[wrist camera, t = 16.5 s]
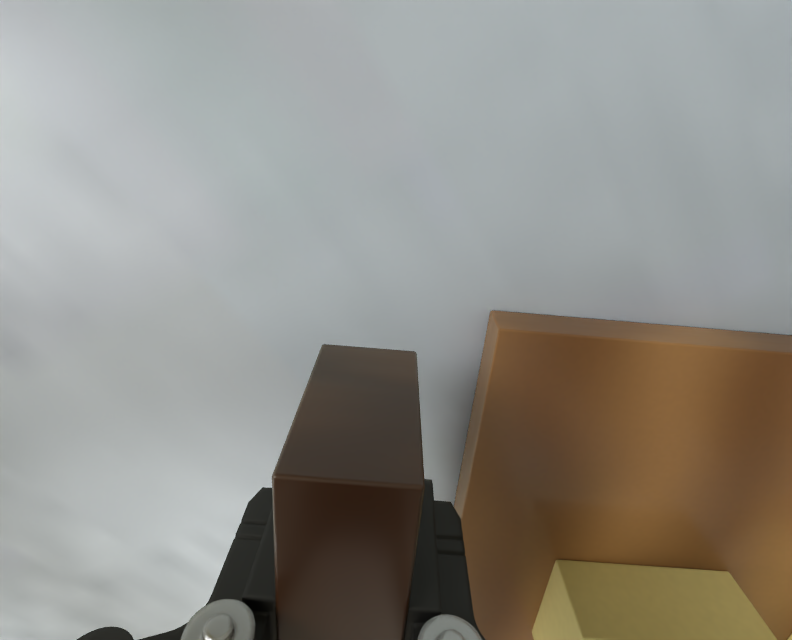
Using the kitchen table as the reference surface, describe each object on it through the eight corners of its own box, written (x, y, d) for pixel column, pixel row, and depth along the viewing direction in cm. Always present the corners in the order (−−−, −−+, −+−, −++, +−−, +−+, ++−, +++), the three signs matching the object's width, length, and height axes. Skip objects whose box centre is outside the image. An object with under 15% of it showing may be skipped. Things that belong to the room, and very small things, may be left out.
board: (423, 665, 23) (424, 699, 22) (490, 309, 15) (499, 328, 14) (764, 686, 24) (786, 721, 23) (1009, 352, 16) (1066, 375, 14)
